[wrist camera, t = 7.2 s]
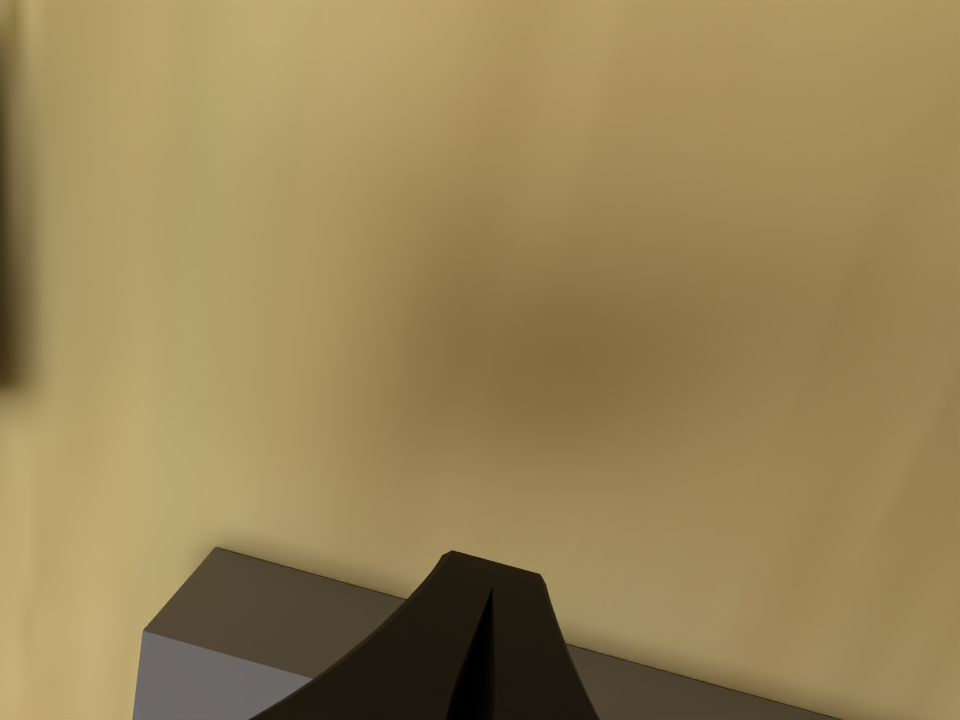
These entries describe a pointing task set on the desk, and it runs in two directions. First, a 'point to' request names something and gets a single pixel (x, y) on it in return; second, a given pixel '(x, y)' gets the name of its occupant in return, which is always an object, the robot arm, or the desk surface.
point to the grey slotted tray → (332, 634)
